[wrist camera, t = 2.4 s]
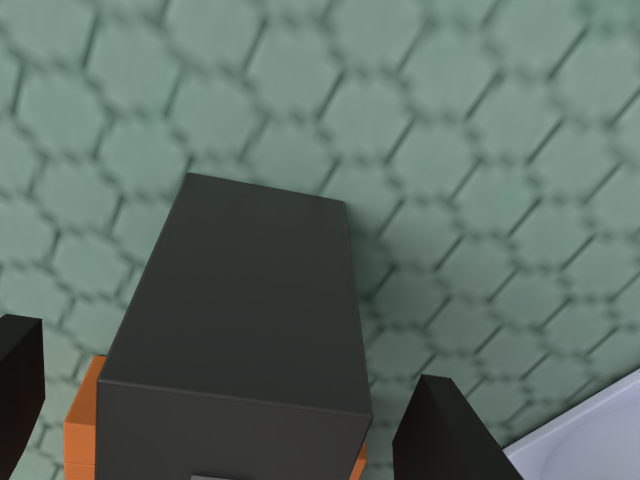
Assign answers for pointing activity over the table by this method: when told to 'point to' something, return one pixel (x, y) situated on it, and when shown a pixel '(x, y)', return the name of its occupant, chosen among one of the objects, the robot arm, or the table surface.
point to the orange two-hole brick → (83, 425)
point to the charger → (238, 345)
